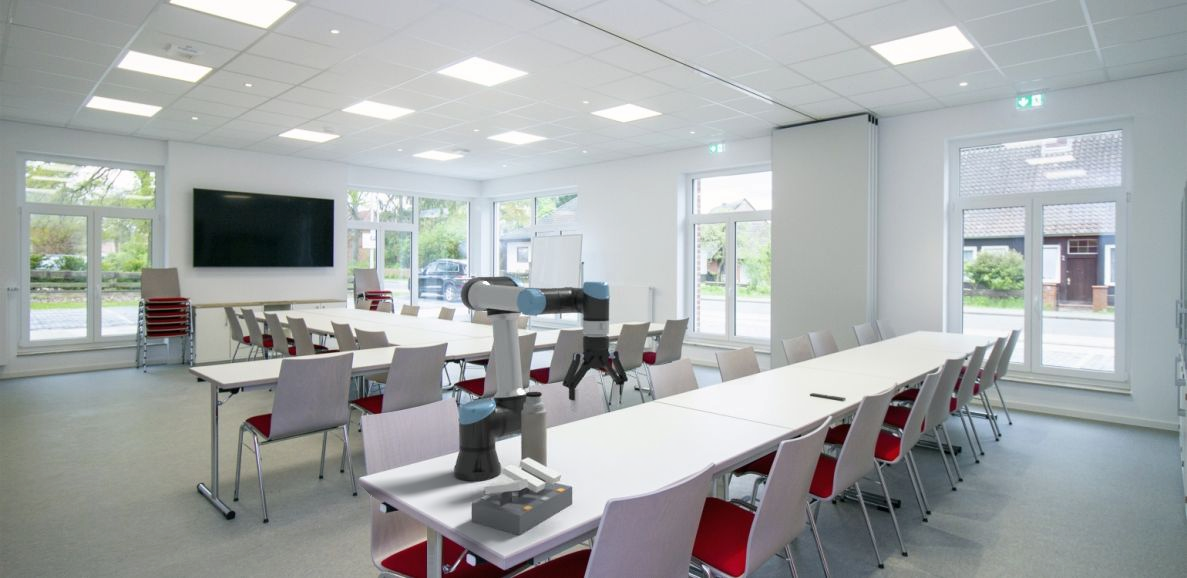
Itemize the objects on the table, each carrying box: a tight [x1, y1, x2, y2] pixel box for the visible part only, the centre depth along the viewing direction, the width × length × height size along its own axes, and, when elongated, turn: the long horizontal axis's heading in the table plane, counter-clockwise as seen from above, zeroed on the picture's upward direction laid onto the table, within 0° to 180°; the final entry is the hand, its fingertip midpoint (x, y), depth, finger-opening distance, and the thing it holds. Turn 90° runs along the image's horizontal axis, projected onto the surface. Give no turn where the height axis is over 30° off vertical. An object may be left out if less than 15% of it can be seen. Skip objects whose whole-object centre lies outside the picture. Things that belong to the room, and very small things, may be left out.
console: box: [471, 476, 573, 536], centre depth 166 cm, size 16×24×8 cm, turn 149°
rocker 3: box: [518, 458, 562, 484], centre depth 172 cm, size 12×4×2 cm, turn 59°
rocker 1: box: [483, 479, 529, 495], centre depth 159 cm, size 12×4×2 cm, turn 58°
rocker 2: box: [501, 463, 545, 493], centre depth 166 cm, size 12×4×2 cm, turn 59°
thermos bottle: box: [520, 391, 548, 477], centre depth 191 cm, size 8×8×28 cm
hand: (595, 408), depth 175 cm, fingers open, 13 cm apart
